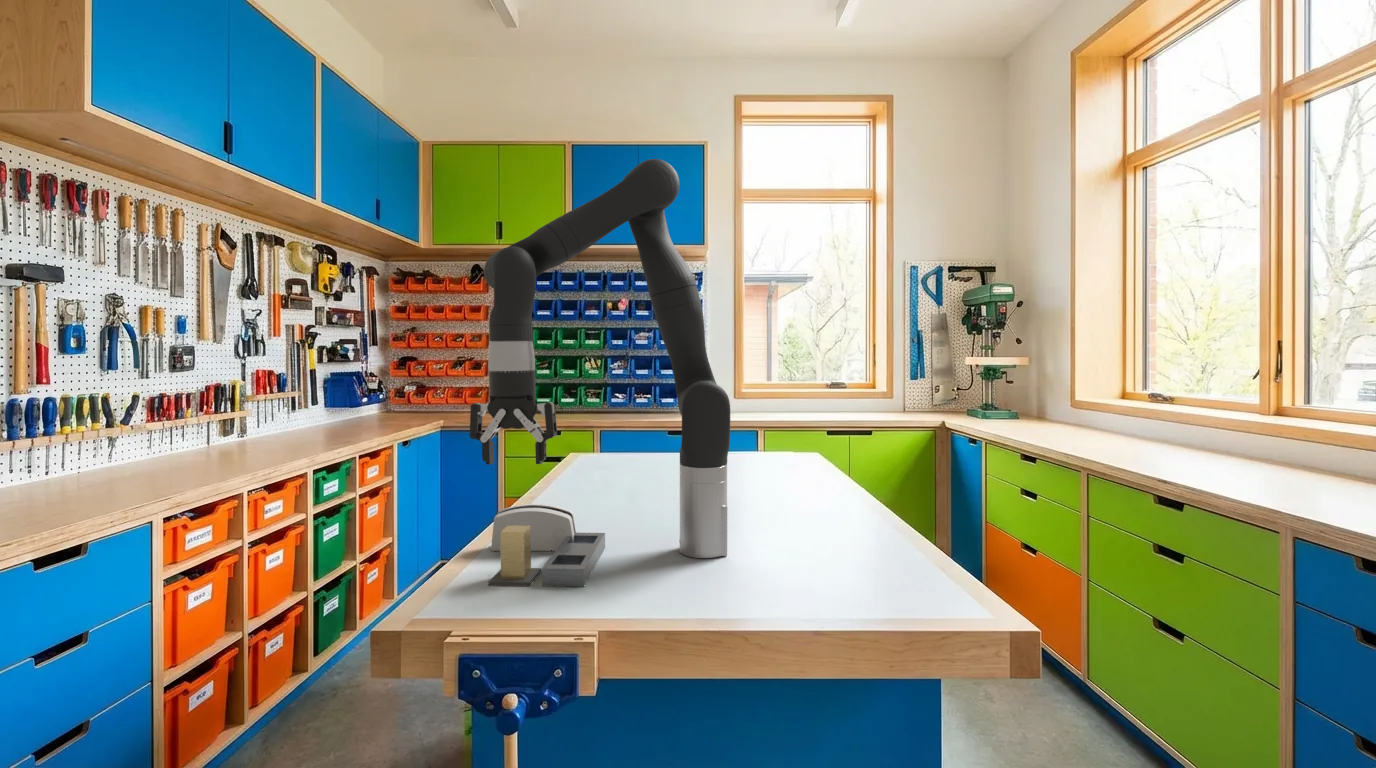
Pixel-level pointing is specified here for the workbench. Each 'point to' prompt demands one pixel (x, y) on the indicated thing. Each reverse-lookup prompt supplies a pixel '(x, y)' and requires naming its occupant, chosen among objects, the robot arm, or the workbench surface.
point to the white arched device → (536, 525)
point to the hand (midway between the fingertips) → (514, 463)
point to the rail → (574, 560)
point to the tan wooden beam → (515, 552)
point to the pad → (515, 582)
